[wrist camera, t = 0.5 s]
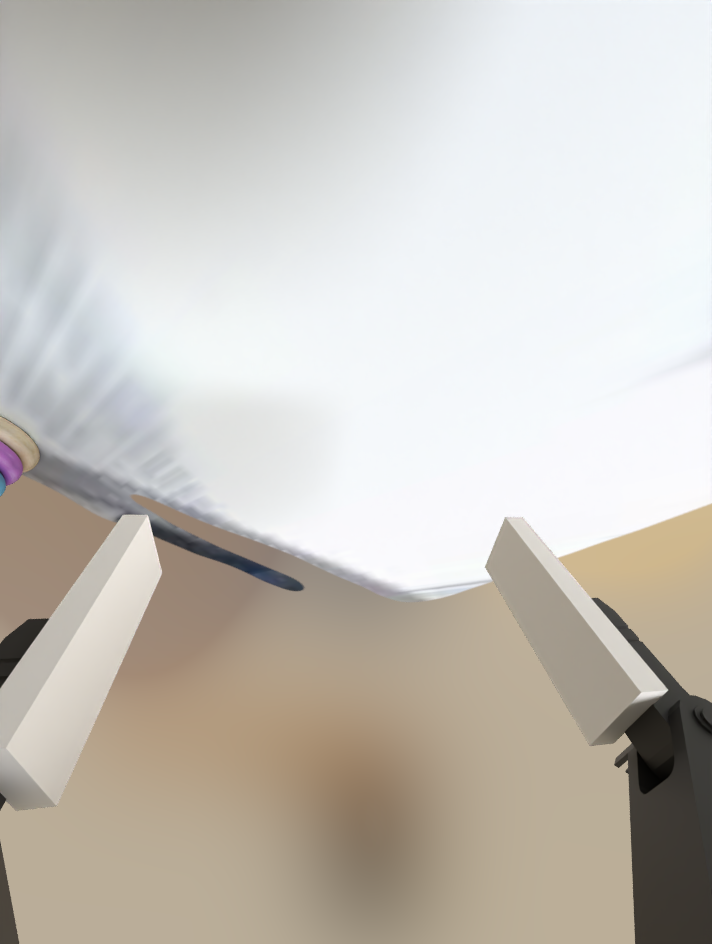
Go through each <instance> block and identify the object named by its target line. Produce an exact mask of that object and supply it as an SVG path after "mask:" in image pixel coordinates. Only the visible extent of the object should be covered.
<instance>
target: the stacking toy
mask: <svg viewBox="0 0 712 944" xmlns="http://www.w3.org/2000/svg"><path fill="white" fill-rule="evenodd" d="M39 458H40V453H39V450H38V447H37V446H36V444H35V443H34V441H33V440H32V439H31V438H30V437H29V436H28V435H27V434H26V433H25V432H24V431H22V430H21V429H20V428H19V427H17V426H16V425H14V424H13V423H11V422H9V421H8V420H6V419H4V418H2V417H1V416H0V496H1V495H2V494H3V493H4V491H5V488H6V486H7V485H10V484H13V483H14V482H16V481H17V480H18V479H19V478H20V476H21V475H22V473H24V472H27V471H30V470H31V469H33V468H34V467H35V466H36V465H37V463H38V461H39Z"/></svg>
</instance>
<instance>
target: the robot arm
mask: <svg viewBox="0 0 712 944" xmlns="http://www.w3.org/2000/svg"><path fill="white" fill-rule="evenodd" d="M485 568H486V570H487V571H488V573H489V575H490V576H491V578H492V580H493V582H494V583H495V585H496V587H497V588H498V590H499V592H500V594H501V595H502V597H503V599H504V600H505V602H506V604H507V605H508V607H509V609H510V610H511V612H512V614H513V616H514V617H515V619H516V621H517V623H518V624H519V626H520V628H521V629H522V631H523V633H524V634H525V636H526V638H527V639H528V641H529V643H530V645H531V647H532V648H533V650H534V652H535V653H536V655H537V657H538V659H539V660H540V662H541V664H542V665H543V667H544V669H545V670H546V672H547V674H548V675H549V677H550V679H551V681H552V682H553V684H554V686H555V688H556V689H557V691H558V693H559V694H560V696H561V698H562V700H563V701H564V703H565V705H566V706H567V708H568V710H569V712H570V713H571V715H572V717H573V718H574V720H575V722H576V724H577V725H578V727H579V729H580V730H581V732H582V734H583V735H584V737H585V739H586V741H587V742H588V744H589V746H594V745H603V744H612V743H614V742H616V740H617V739H619V738H620V737H621V736H622V735H623V734H624V733H626V735H627V736H628V738H629V739H630V741H631V742H632V744H631V745H630V746H629V747H627V748H626V749H625V750H624V751H623V752H622V753H621V754H620V755H619V756H618V757H617V758H616V760H615V764H614V765H615V766H617V767H618V768H619V767H620V766H621V765H622V764H624V763H625V762H626V761H627V760H628V769H627V770H626V773H628V774H629V796H630V822H631V847H632V872H633V898H634V922H635V944H712V703H711V702H709V701H707V700H705V699H702V698H700V697H697V696H692V695H689V694H688V693H687V692H686V691H685V690H684V689H683V688H682V687H681V686H680V685H679V683H678V682H677V681H676V680H675V679H674V678H673V677H672V676H671V674H670V673H669V672H668V671H667V670H666V669H665V667H664V666H663V665H662V664H661V663H660V662H659V661H658V660H657V658H656V657H655V656H654V655H653V654H652V653H651V652H650V650H649V649H648V648H647V647H646V646H645V645H644V644H643V642H640V641H639V638H638V637H637V636H636V634H635V633H634V632H633V631H632V630H631V629H628V625H627V624H626V623H625V622H624V621H623V620H622V619H621V617H620V616H619V615H618V614H617V613H616V612H615V611H614V610H613V609H611V608H610V607H609V606H608V605H606V604H605V603H604V602H602V601H601V600H600V599H598V598H590V596H589V595H588V594H587V593H586V592H585V591H584V589H583V588H582V587H581V586H580V585H579V583H578V582H577V581H576V580H575V579H574V578H573V576H572V575H571V574H570V573H569V572H568V570H567V569H566V568H565V567H564V566H563V564H562V563H561V562H560V561H559V560H558V558H557V557H556V556H555V555H554V554H553V553H552V551H551V550H550V549H549V548H548V547H547V545H546V544H545V543H544V542H543V541H542V539H541V538H540V537H539V536H538V535H537V534H536V532H535V531H534V530H533V529H532V528H531V526H530V525H529V524H528V523H527V522H526V520H525V519H524V518H523V517H505V519H504V522H503V524H502V527H501V529H500V532H499V534H498V536H497V539H496V541H495V544H494V546H493V549H492V551H491V554H490V556H489V559H488V561H487V564H486V566H485ZM161 574H162V570H161V566H160V562H159V558H158V554H157V550H156V546H155V542H154V538H153V534H152V530H151V526H150V521H149V517H148V515H123V516H122V517H121V518H120V520H119V521H118V523H117V524H116V526H115V527H114V528H113V530H112V531H111V533H110V534H109V535H108V537H107V538H106V540H105V541H104V543H103V544H102V545H101V547H100V548H99V550H98V551H97V552H96V554H95V555H94V557H93V558H92V559H91V561H90V562H89V564H88V565H87V566H86V568H85V570H84V571H83V572H82V574H81V575H80V576H79V578H78V579H77V581H76V582H75V583H74V585H73V586H72V588H71V589H70V591H69V592H68V593H67V595H66V596H65V598H64V599H63V600H62V602H61V603H60V605H59V606H58V608H57V609H56V610H55V612H54V613H53V615H52V616H51V618H50V619H28V620H27V621H26V622H25V623H23V624H22V625H21V626H19V627H18V628H17V629H16V630H15V631H13V632H12V633H11V634H9V635H8V636H7V637H5V639H4V640H3V641H2V642H1V644H0V810H1V808H2V806H3V804H4V803H5V801H7V802H8V803H9V804H10V805H11V806H12V807H13V808H14V809H15V810H16V811H19V810H28V809H36V808H45V807H54V806H57V804H58V802H59V800H60V798H61V796H62V793H63V791H64V789H65V787H66V784H67V782H68V780H69V778H70V776H71V773H72V771H73V769H74V767H75V764H76V762H77V760H78V758H79V756H80V754H81V751H82V749H83V747H84V744H85V742H86V740H87V738H88V736H89V734H90V731H91V729H92V727H93V725H94V723H95V720H96V718H97V716H98V714H99V712H100V709H101V707H102V705H103V703H104V700H105V698H106V696H107V694H108V692H109V689H110V687H111V685H112V683H113V681H114V678H115V676H116V674H117V672H118V670H119V667H120V665H121V663H122V661H123V658H124V656H125V654H126V652H127V650H128V647H129V645H130V643H131V641H132V638H133V636H134V634H135V632H136V630H137V627H138V625H139V623H140V621H141V619H142V616H143V614H144V612H145V610H146V607H147V605H148V603H149V601H150V598H151V596H152V594H153V592H154V590H155V588H156V586H157V583H158V581H159V579H160V577H161ZM0 944H19V940H18V934H17V929H16V924H15V918H14V913H13V908H12V902H11V897H10V891H9V886H8V881H7V875H6V870H5V865H4V859H3V853H2V848H1V843H0Z"/></svg>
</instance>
